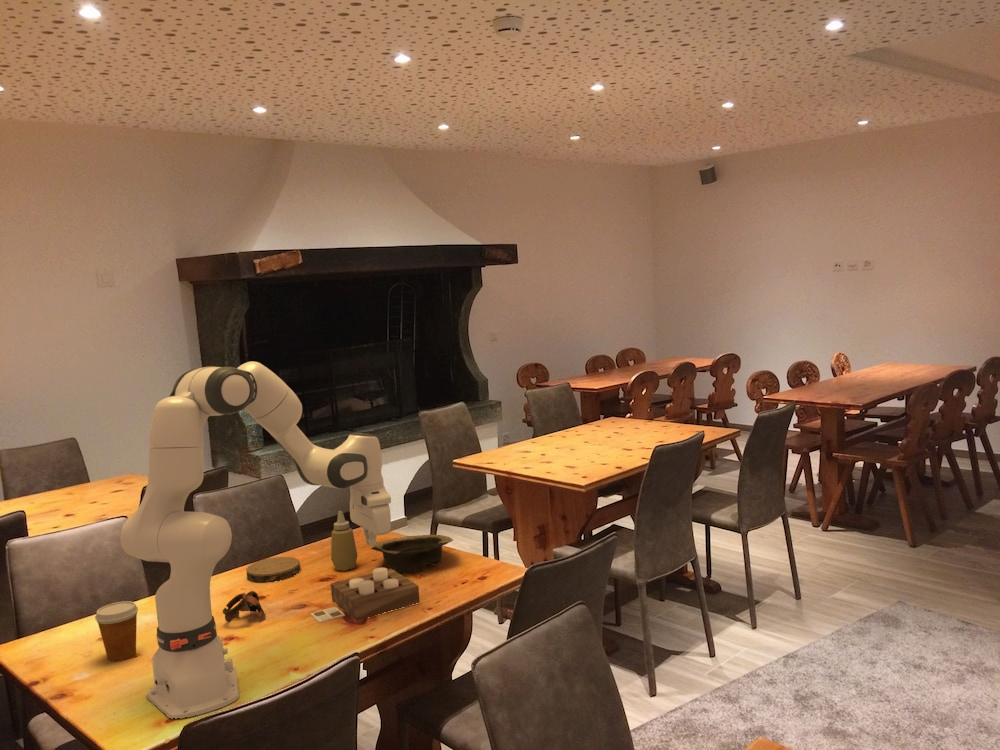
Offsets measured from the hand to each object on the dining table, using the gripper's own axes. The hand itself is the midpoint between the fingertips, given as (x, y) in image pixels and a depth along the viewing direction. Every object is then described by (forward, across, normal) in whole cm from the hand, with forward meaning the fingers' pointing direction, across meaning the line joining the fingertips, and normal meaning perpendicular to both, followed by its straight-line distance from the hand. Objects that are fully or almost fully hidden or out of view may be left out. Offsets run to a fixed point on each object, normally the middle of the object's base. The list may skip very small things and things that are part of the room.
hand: (371, 544), depth 217 cm
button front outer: (+16, 0, +5) cm, 17 cm away
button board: (+17, -3, +1) cm, 17 cm away
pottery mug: (+18, -15, -30) cm, 38 cm away
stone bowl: (+17, -26, +23) cm, 38 cm away
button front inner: (+15, 0, -2) cm, 15 cm away
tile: (+17, -3, -12) cm, 21 cm away
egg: (+16, -7, -2) cm, 18 cm away
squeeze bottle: (+17, -36, +5) cm, 40 cm away
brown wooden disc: (+17, -47, -14) cm, 52 cm away
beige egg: (+15, -7, +5) cm, 17 cm away
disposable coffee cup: (+18, -13, -61) cm, 65 cm away
